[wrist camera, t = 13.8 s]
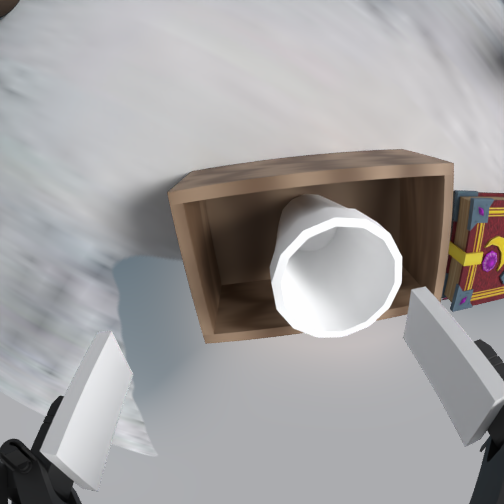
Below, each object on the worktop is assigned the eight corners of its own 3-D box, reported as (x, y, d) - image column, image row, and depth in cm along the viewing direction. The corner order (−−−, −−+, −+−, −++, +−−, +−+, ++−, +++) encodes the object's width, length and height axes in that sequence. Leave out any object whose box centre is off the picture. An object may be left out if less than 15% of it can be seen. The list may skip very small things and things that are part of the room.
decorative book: (508, 191, 32) (530, 201, 27) (488, 291, 38) (505, 307, 33) (452, 189, 32) (476, 200, 27) (435, 301, 38) (451, 321, 34)
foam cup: (365, 232, 33) (419, 292, 21) (297, 278, 35) (318, 356, 23) (320, 161, 30) (364, 188, 18) (246, 213, 32) (243, 271, 20)
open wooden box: (215, 289, 37) (205, 343, 27) (191, 171, 31) (167, 192, 22) (401, 263, 35) (439, 306, 26) (402, 149, 30) (453, 163, 21)
